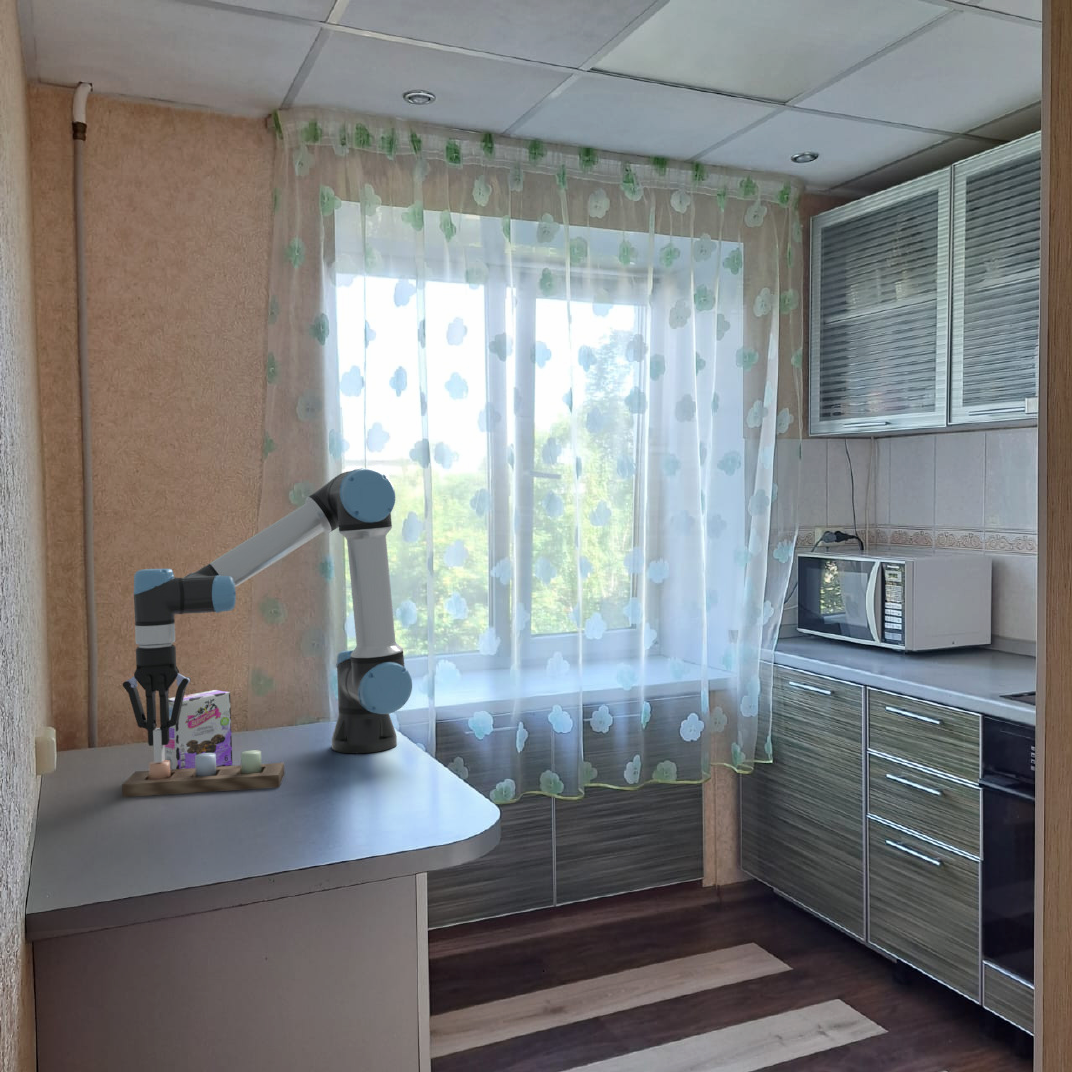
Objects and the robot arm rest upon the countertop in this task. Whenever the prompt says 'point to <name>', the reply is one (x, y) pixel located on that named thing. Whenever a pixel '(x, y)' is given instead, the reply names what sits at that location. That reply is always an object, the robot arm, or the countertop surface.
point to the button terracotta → (159, 770)
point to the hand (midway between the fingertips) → (159, 761)
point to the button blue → (205, 764)
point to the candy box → (201, 730)
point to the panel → (203, 781)
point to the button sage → (251, 762)
